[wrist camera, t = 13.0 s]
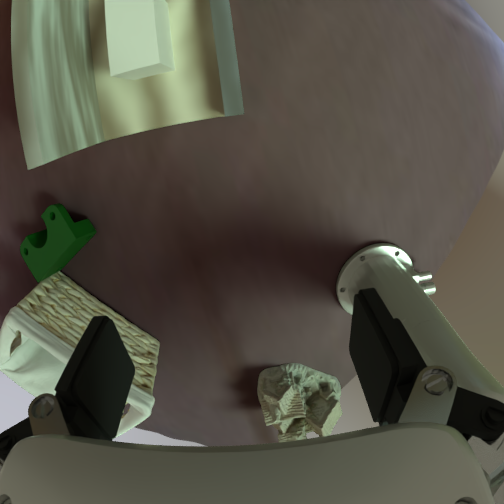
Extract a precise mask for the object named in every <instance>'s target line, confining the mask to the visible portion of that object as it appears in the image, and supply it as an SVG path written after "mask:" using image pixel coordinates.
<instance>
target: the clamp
mask: <svg viewBox="0 0 504 504" xmlns="http://www.w3.org/2000/svg"><path fill="white" fill-rule="evenodd" d="M41 217H42V219H43V220H44V222H45V224H46V227H47V229H46V230H43V231H40V232H37V233H34V234H31V235H28V236H26V238H25V239H24V241H23V242H22V244H21V246H20V252H21V255H22V257H23V259H24V261H25V262H26V264H27V266H28V267H29V269H30V271H31V272H32V274H33V276H34V277H35V279H36V281H37V282H38V283H39V282H41V281H43V280H44V279H46V278H48V277H50V276H52V275H53V274H55V273H57V272H59V271H60V270H61V269H62V268H63V267H64V266H65V265H66V264H67V263H68V262H69V261H70V260H71V259H72V258H73V257H74V256H75V255H76V253H77V252H78V251H79V250H80V249H81V248H82V247H83V246H84V245H85V244H86V243H87V242H88V241H89V240H90V239H91V238H92V237H93V236H94V235H95V234H96V232H97V231H96V230H95V228H94V227H93V225H92V224H91V222H90V221H89V219H85V220H82V221H79V222H76V223H74V222H73V220H72V219H71V217H70V215H69V214H68V212H67V211H66V209H65V207H64V206H63V205H62V204H59V203H58V204H54V205H50V206H48V208H47V209H46V210H45V212H44V213H43V214H42V216H41Z"/></svg>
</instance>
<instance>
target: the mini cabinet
mask: <svg viewBox="0 0 504 504" xmlns="http://www.w3.org/2000/svg"><path fill="white" fill-rule="evenodd" d="M105 20H106V35H107V46H108V57H109V66H110V75H111V76H112V77H118V78H124V79H130V80H137V79H141V78H145V77H149V76H153V75H157V74H161V73H166V72H171V71H175V64H174V56H173V48H172V39H171V30H170V20H169V10H168V3H167V2H166V1H165V0H105Z"/></svg>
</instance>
